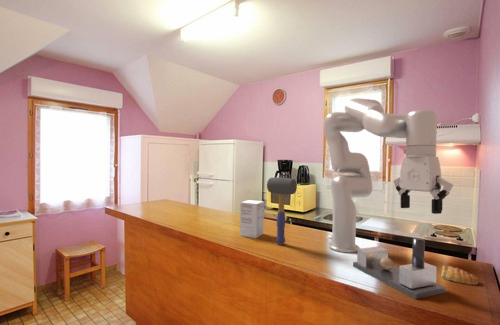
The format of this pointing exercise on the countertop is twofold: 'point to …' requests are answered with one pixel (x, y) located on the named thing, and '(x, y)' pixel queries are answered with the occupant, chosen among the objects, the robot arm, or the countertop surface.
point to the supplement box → (251, 218)
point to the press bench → (390, 273)
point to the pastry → (458, 275)
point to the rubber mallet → (281, 201)
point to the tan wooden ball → (386, 264)
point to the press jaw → (417, 268)
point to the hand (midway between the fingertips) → (419, 210)
